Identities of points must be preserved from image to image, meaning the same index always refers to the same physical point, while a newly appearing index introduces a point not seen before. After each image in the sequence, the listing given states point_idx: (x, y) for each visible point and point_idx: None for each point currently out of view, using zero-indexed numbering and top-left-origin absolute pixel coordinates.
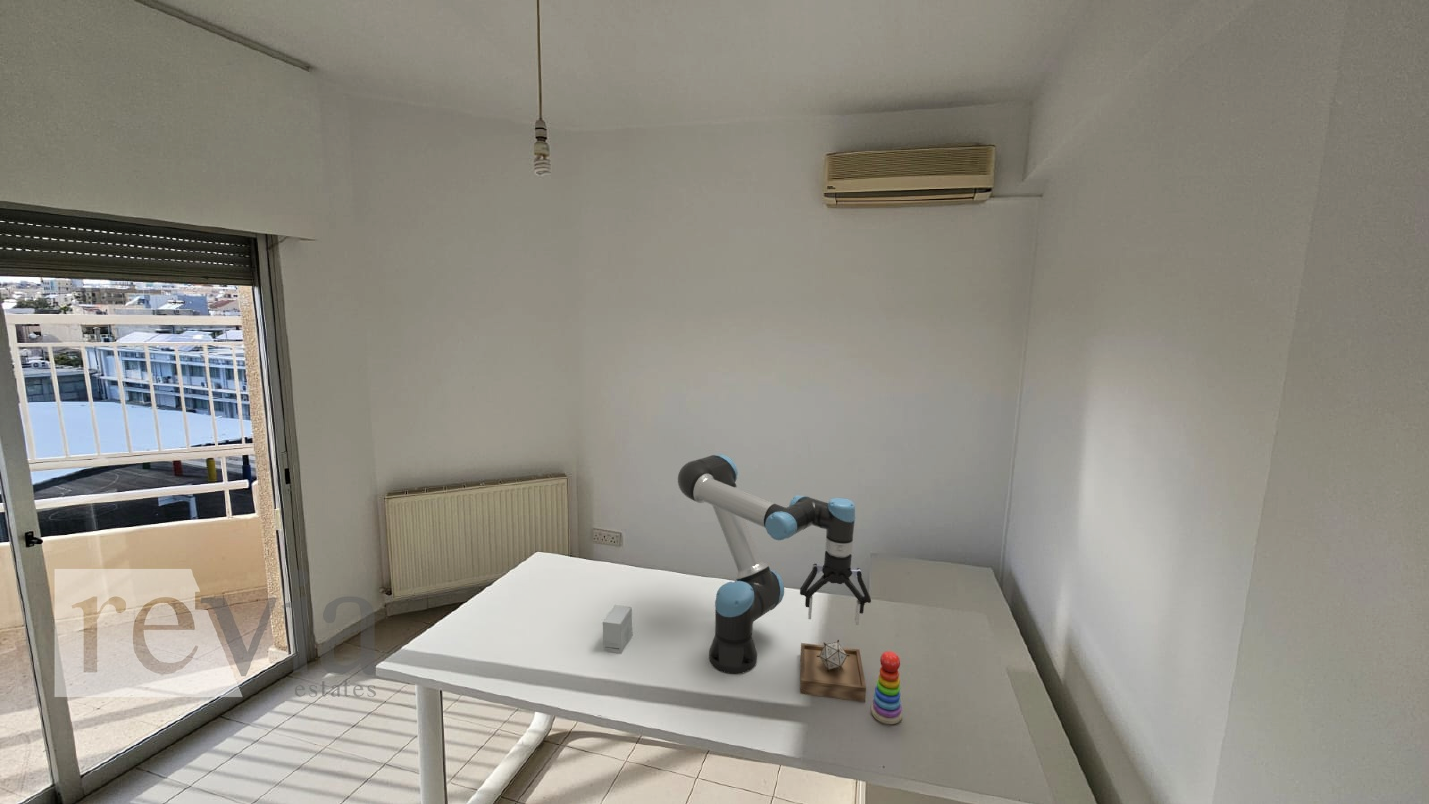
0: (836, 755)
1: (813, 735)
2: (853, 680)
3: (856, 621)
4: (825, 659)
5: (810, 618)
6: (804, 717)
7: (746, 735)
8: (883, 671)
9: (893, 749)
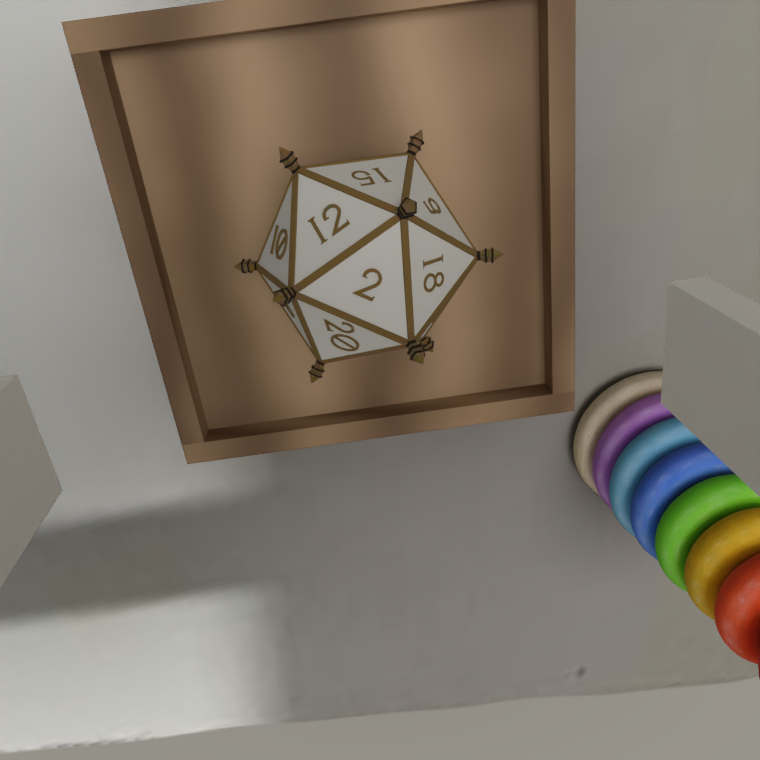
0: (413, 681)
1: (316, 630)
2: (500, 322)
3: (691, 425)
4: (314, 377)
5: (48, 499)
6: (260, 558)
7: (58, 705)
8: (750, 652)
9: (632, 597)
